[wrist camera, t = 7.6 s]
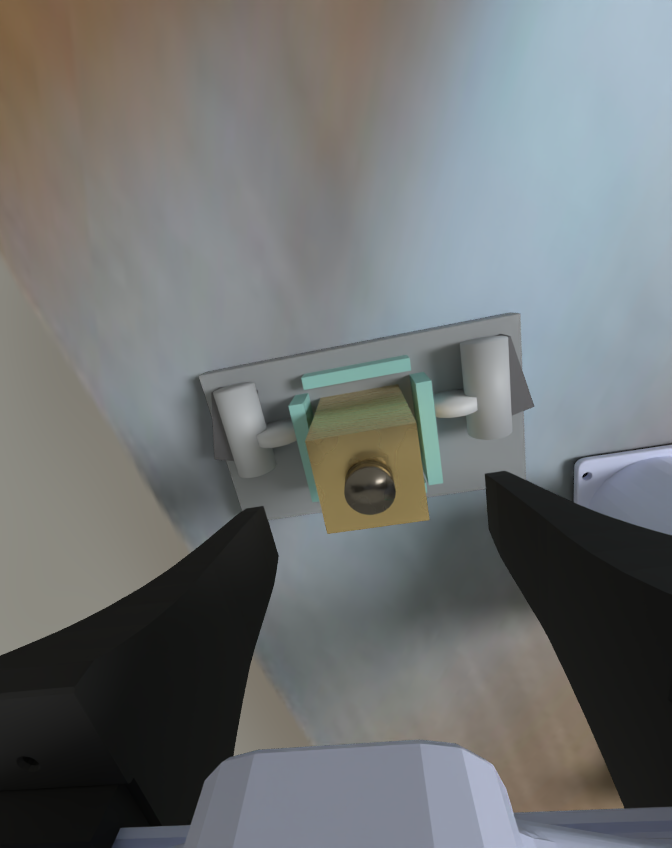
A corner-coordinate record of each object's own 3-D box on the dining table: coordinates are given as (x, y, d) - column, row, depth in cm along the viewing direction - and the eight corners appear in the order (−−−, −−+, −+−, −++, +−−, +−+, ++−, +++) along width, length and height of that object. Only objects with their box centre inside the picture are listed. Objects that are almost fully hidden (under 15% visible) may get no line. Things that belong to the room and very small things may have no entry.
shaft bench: (516, 473, 21) (548, 507, 17) (251, 511, 23) (233, 549, 19) (510, 312, 18) (545, 316, 15) (207, 371, 20) (176, 386, 16)
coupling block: (408, 455, 20) (433, 532, 13) (335, 466, 20) (325, 546, 14) (397, 384, 18) (420, 430, 12) (320, 397, 19) (301, 450, 12)
